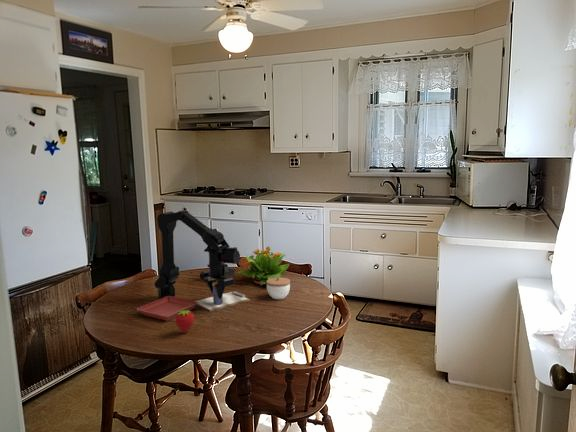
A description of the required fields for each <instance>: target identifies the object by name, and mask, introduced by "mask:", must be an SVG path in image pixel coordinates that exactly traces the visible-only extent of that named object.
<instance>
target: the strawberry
mask: <svg viewBox="0 0 576 432" xmlns="http://www.w3.org/2000/svg"><path fill="white" fill-rule="evenodd" d="M185 308H186V307H185ZM185 308H184V309H185ZM179 312H181V313H178V316H177V317H175V324H176V325H177V326H176V327H178V328H179V330H180V331H181V332H182V333H183V334H186V333H188V331H189V330H190V329H191V327H192V326H193V324H194V321H195V314H194V313H193V312H192V310H190V311H188V310H187V311H184V310H183V311H179Z"/></svg>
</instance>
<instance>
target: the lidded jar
mask: <svg viewBox="0 0 576 432" xmlns="http://www.w3.org/2000/svg"><path fill="white" fill-rule="evenodd" d="M265 285H266V290H267V293H268V295H269V296H270V297H271V298H272V299H273V300H284V299H285V298H286V297H287V295H289V293H290V289H291V280H290V278H286V277H282V276H280V277H276V278H270V279H268V280H267V281H266V284H265Z"/></svg>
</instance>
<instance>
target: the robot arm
mask: <svg viewBox="0 0 576 432" xmlns="http://www.w3.org/2000/svg"><path fill="white" fill-rule="evenodd" d="M156 221H157V226H158V229H159V230H160V232H161V252H162V253H161V254H162V255H161V257H162V265H161V267H160V269H159V273H158V274H159V275H158V279H157V280H155V282H154V283H153V285H154V287H155V289H157V297H156V299H157V300H159V299H161V298H164V297H166V296H172V297H176V288H175V287H174V285H175V284H176V282H177V280H178V279H179V276H180V273H179V272H180V267H179V266H177V265H176V264H175V254H174V253H175V246H174V231H175V229H176V226H177V222H178V221H180V222H182V224H184V225H186V226H187V227H188V228H190V229H191V230H192V231H194V232H195V233H196V234H197V235H199V237H201V239H202V241H203V243H204V244H205V245H206V248H205V249H204V250H203V252H205V253H208V264H207V265H206V266H207V268H208V270H204V271H201V272H200V273H199V278H200V279H202V280H204V282H205V284H206V285H207V287H208V289H209V290H210V292H211V294H212V295H213V286H212V283H213V282H216V281H217V283H218V284H215V285H214V286H215V289H216V292H217V295H218V297H219V299H221V298H222V295H223V294H224V293H225V292H224V291H225V289H226V287H229V286H232V285H234V284H235V278H233V277H234V276H235V273H236V268H234V267H229V266H228V264H232V265H233V264H234V265H237V264H239V262H240V261H241V254H240V251H239V250H238V247H236V246H235V247H230V245H229V243H228V242H227V241H226V238H225V236H224V234H223V233H222V232H220V231H218V230H217V229H214V228H210V227H208V226H207V225H205V224H204V223H203V222H201V221H200V220H199V219H197V218H196V217H195V216H193V215H192V214H191V213H190V212H189V210H186V209H184V210H179V211H177V212H173V211H171V210H170V211H167V212H161V213H160V214H158V215H157V218H156ZM223 262H224V263H225V264H223ZM209 268H210V270H209ZM223 276H225V277H223Z"/></svg>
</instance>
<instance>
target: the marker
mask: <svg viewBox="0 0 576 432" xmlns="http://www.w3.org/2000/svg"><path fill="white" fill-rule="evenodd" d="M215 284H218V283H217V281H216V282H213V283H212V286H213V294H212V296H213V304H222V303H223V296H222V298H221V299H219V297H218V295H217V292H216V289H215V286H214V285H215Z"/></svg>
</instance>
